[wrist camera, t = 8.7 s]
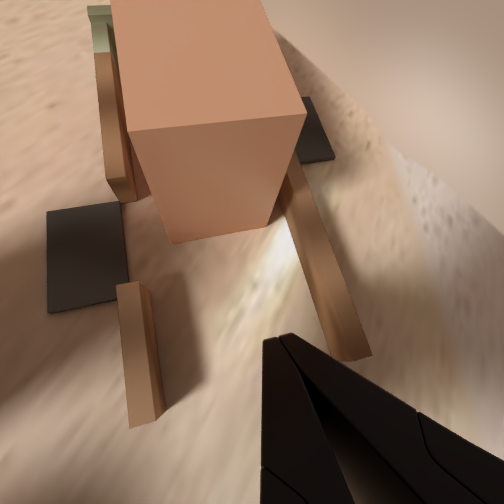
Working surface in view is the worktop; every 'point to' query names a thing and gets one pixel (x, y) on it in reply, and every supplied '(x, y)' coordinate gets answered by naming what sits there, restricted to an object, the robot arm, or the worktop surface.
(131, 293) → the lane
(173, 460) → the worktop surface
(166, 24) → the brick
